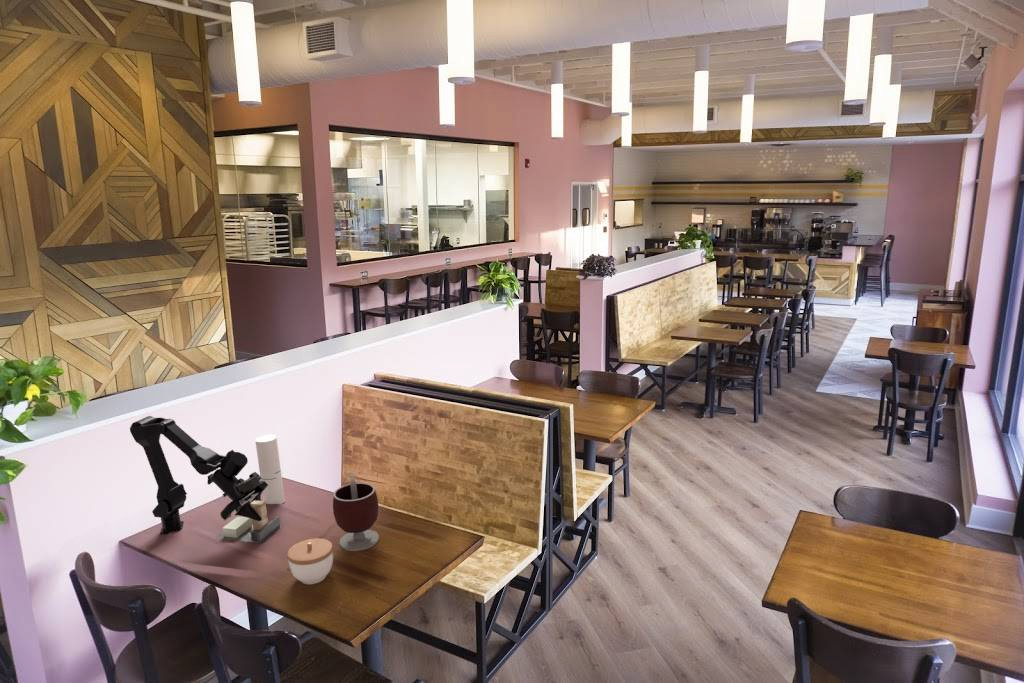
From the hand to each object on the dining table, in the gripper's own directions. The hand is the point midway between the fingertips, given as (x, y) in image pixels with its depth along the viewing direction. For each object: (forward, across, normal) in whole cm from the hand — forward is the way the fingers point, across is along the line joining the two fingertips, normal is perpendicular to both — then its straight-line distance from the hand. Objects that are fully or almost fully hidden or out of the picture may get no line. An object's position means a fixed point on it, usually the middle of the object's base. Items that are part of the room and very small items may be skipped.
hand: (263, 518), depth 220 cm
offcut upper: (-4, 0, +10) cm, 11 cm away
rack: (0, 0, +10) cm, 10 cm away
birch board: (+3, 0, +5) cm, 6 cm away
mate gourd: (+27, +4, -17) cm, 32 cm away
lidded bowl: (+25, -18, -14) cm, 34 cm away
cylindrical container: (-3, +23, +14) cm, 27 cm away
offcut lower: (-3, 0, +11) cm, 12 cm away
